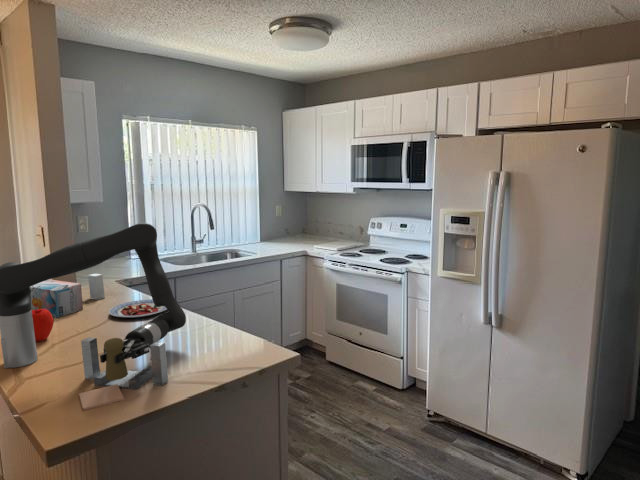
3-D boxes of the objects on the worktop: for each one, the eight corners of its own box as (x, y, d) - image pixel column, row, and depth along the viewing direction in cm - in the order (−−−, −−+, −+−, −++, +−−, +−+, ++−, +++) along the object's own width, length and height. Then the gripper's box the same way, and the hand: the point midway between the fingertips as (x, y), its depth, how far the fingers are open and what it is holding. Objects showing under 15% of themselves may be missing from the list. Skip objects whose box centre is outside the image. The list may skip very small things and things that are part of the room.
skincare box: (105, 297, 231) (103, 274, 229) (97, 300, 227) (94, 276, 225) (98, 296, 234) (95, 273, 232) (90, 298, 230) (87, 274, 228)
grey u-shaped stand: (99, 369, 146) (95, 333, 144) (174, 375, 141) (171, 338, 139) (76, 383, 137) (72, 345, 135) (155, 391, 131) (152, 350, 129)
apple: (51, 333, 181) (47, 303, 179) (58, 339, 174) (55, 308, 172) (21, 340, 174) (17, 308, 172) (28, 346, 167) (24, 314, 165)
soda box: (-2, 308, 217) (-5, 281, 215) (28, 300, 229) (25, 275, 227) (57, 318, 200) (53, 289, 198) (85, 309, 212) (82, 282, 210)
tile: (83, 410, 121) (83, 408, 121) (79, 395, 129) (79, 393, 129) (124, 399, 126) (123, 397, 126) (117, 385, 135) (117, 383, 135)
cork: (121, 369, 139) (118, 334, 137) (131, 374, 135) (128, 338, 133) (101, 376, 134) (97, 340, 132) (111, 382, 130) (108, 345, 128)
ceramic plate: (108, 325, 190) (108, 318, 189) (109, 308, 213) (109, 302, 213) (174, 316, 200) (173, 309, 199) (168, 301, 223) (167, 295, 223)
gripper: (122, 325, 148) (85, 345, 132) (162, 327, 145) (129, 348, 129) (124, 347, 149) (87, 370, 133) (164, 350, 146) (132, 374, 130)
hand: (108, 359), depth 131 cm, fingers closed on cork, 4 cm apart
